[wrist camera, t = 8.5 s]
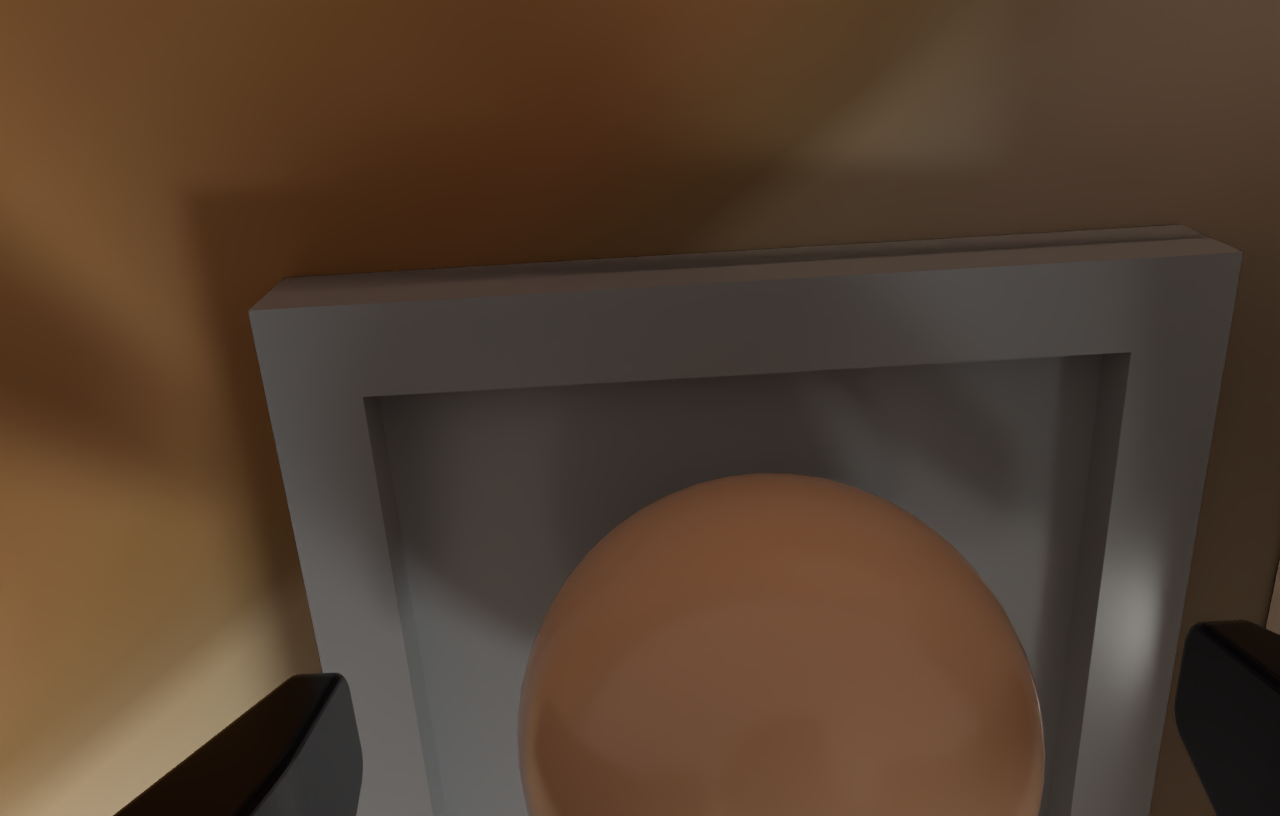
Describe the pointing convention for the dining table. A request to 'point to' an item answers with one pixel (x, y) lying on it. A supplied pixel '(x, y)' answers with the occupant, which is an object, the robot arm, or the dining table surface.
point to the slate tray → (747, 460)
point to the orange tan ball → (778, 666)
